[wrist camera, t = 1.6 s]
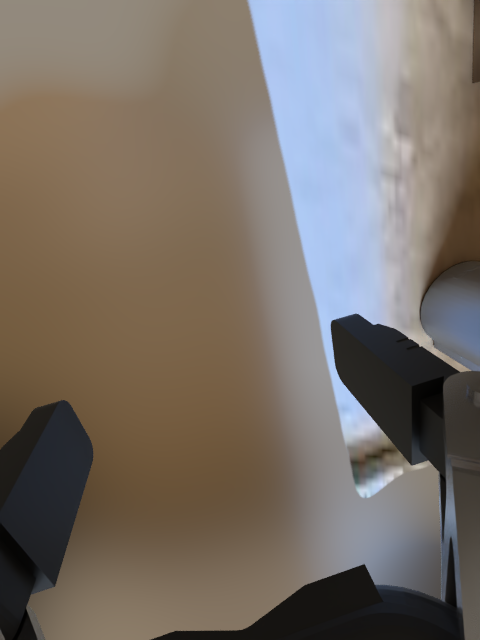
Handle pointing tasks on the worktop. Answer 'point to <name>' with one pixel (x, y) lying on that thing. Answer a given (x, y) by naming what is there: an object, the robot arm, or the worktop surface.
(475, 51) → the post
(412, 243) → the worktop surface
